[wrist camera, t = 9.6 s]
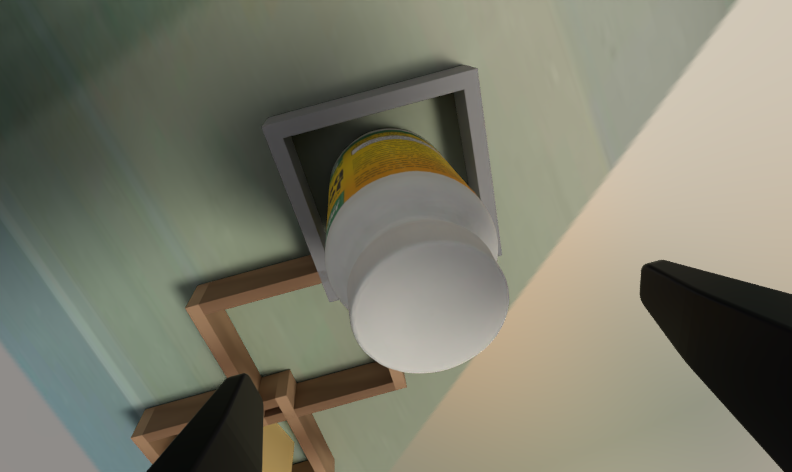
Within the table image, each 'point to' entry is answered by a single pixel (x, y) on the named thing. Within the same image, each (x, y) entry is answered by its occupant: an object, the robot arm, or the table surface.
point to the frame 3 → (275, 392)
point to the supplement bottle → (412, 254)
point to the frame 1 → (371, 102)
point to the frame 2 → (236, 360)
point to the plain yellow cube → (277, 449)
